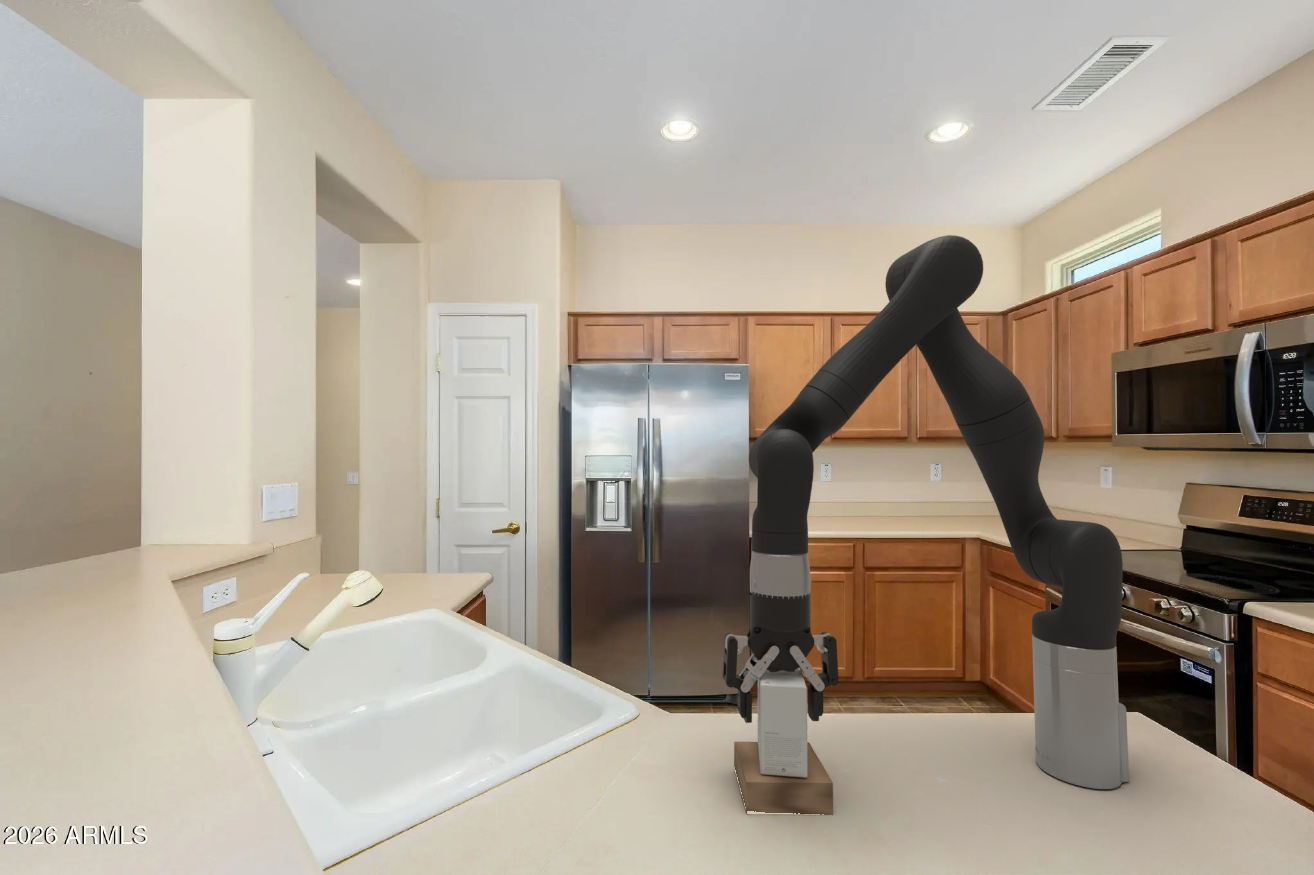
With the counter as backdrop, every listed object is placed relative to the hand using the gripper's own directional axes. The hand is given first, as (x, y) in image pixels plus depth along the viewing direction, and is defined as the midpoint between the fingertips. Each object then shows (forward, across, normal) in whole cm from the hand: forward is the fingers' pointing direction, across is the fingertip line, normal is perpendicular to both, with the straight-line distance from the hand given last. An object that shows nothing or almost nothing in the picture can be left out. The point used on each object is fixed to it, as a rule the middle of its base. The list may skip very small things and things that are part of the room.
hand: (780, 719), depth 71 cm
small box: (+5, 0, 0) cm, 5 cm away
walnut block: (+9, 0, 0) cm, 9 cm away
